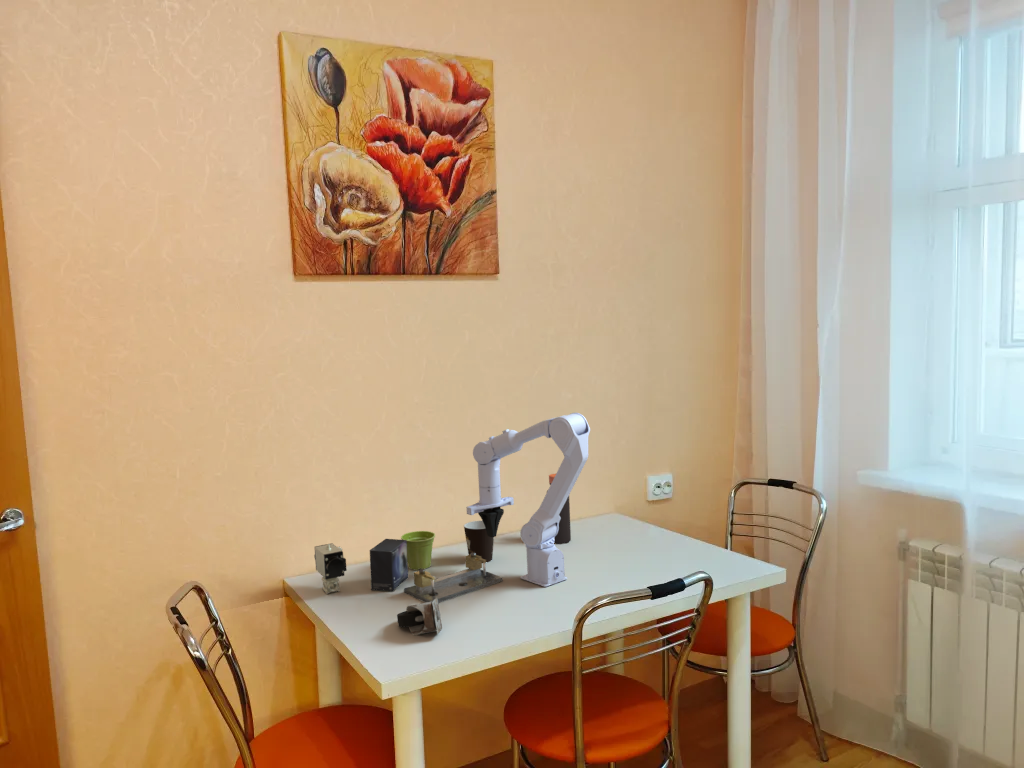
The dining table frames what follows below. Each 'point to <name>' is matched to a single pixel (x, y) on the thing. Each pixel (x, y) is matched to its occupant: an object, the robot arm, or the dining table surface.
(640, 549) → the dining table surface
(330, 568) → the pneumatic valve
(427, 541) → the plant pot
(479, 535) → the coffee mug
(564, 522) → the bottle
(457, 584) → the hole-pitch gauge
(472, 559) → the sliding leg
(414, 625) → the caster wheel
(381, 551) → the small box
